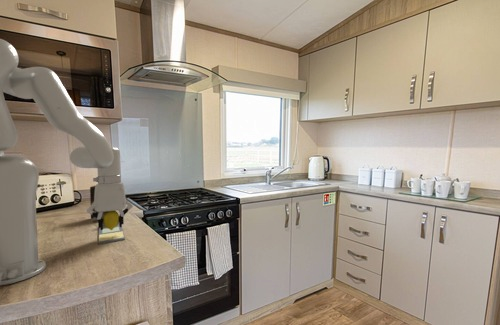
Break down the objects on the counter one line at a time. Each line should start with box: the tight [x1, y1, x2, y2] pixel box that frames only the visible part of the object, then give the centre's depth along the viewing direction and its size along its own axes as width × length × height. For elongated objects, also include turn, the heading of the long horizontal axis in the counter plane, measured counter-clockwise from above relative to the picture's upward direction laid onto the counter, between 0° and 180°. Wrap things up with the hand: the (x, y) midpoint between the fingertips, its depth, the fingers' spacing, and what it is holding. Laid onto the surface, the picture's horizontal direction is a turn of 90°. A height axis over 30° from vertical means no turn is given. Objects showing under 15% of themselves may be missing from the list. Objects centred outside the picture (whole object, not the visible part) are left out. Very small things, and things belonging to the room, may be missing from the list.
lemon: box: [103, 210, 120, 230], centre depth 94 cm, size 6×6×8 cm
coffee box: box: [89, 185, 106, 222], centre depth 121 cm, size 9×6×16 cm
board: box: [97, 224, 126, 245], centre depth 101 cm, size 26×8×2 cm, turn 30°
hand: (111, 227), depth 94 cm, fingers closed on lemon, 5 cm apart
